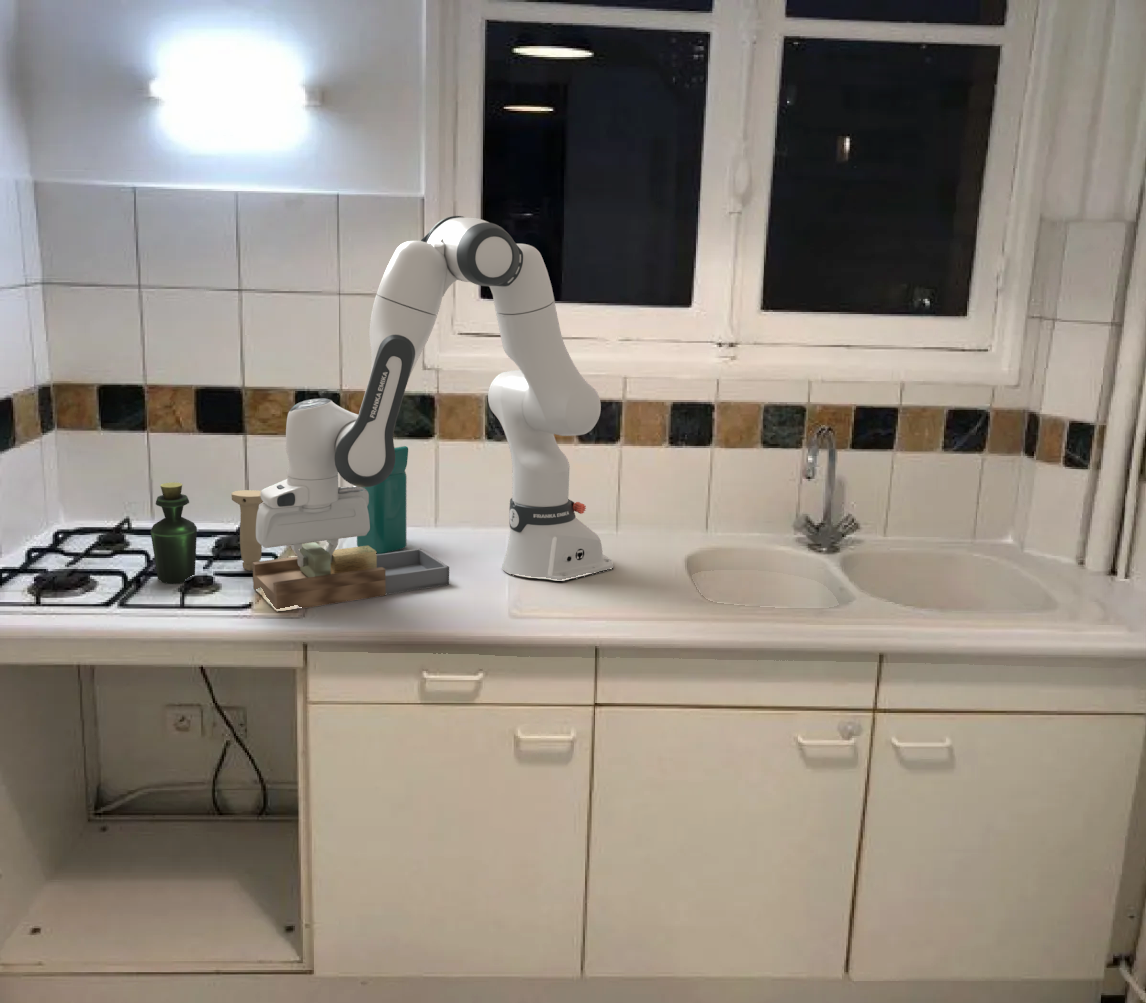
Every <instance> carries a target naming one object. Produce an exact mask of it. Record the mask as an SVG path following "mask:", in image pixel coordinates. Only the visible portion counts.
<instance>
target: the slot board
mask: <svg viewBox="0 0 1146 1003" xmlns="http://www.w3.org/2000/svg"><path fill="white" fill-rule="evenodd" d="M252 582H253V583H252V584H253V586H252V587H253V589H254V591H256V589H258V588H260V587H261V588H262V589H263V591H264V593H265V595H266V597H267V598H268V599H269V600H270V602H271V603H272V604H273V606H274V607H275V608H276V609H280V608H285V607H290V606H294V605H298V606H299V607H302V609H307V608H314V607H319V606H320V607H321V606H327V605H334V604H340V603H347V602H352V601H359V600H365V599H373V598H379V597H385V596H386V595H387V594H386V586H385V569H384V568H383V567H379V568H372V569H365V570H358V571H351V572H344V573H337V574H330V575H323V576H315V577H307V576H306V575H305V574H304V573H303V572H302V571H300V567H299V566H298V562H297V556H290V557H284V558H276V559H269V560H262V561H261V560H260V561H259V562H253V570H252Z"/></svg>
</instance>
